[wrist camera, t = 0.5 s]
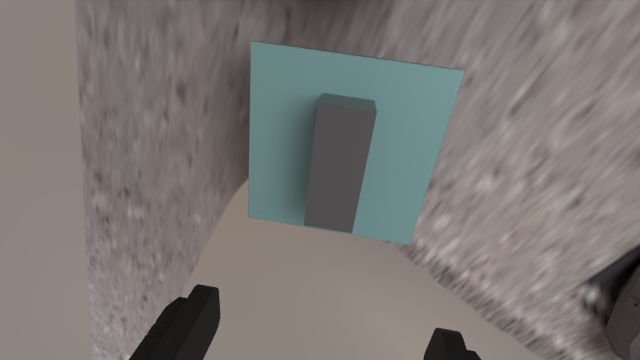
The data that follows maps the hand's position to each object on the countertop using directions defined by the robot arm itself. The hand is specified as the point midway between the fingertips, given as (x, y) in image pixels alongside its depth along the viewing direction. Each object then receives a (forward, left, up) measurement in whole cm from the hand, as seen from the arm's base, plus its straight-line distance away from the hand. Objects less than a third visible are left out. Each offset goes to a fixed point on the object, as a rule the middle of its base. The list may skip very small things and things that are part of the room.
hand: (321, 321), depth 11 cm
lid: (0, 0, -18) cm, 18 cm away
